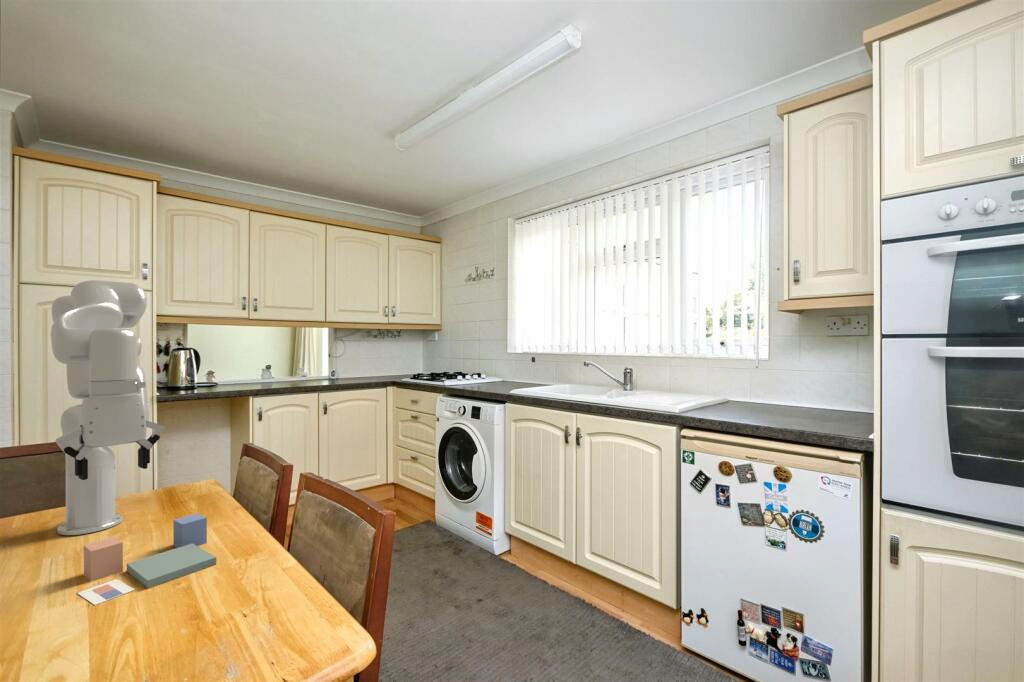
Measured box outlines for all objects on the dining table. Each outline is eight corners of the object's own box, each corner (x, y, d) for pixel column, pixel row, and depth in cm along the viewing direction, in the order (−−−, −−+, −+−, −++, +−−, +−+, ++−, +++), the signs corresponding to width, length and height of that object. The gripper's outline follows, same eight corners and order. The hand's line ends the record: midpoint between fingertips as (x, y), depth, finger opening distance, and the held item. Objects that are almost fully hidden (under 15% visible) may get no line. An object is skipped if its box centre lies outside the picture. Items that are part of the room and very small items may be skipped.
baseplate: (126, 570, 97) (126, 563, 97) (192, 549, 107) (192, 543, 107) (147, 588, 90) (147, 580, 90) (216, 564, 100) (216, 557, 100)
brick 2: (173, 545, 110) (173, 519, 110) (197, 538, 114) (197, 513, 114) (182, 551, 107) (182, 524, 107) (206, 543, 111) (206, 517, 111)
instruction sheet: (77, 593, 89) (77, 592, 89) (116, 579, 94) (116, 578, 94) (94, 605, 85) (94, 604, 85) (134, 590, 90) (134, 589, 90)
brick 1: (83, 574, 96) (83, 545, 96) (114, 565, 100) (114, 536, 100) (91, 581, 93) (90, 551, 93) (122, 571, 97) (122, 542, 97)
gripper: (156, 385, 106) (157, 461, 106) (50, 391, 91) (51, 480, 91) (170, 386, 101) (171, 466, 101) (61, 393, 87) (61, 486, 87)
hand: (114, 473), depth 96 cm, fingers open, 9 cm apart
